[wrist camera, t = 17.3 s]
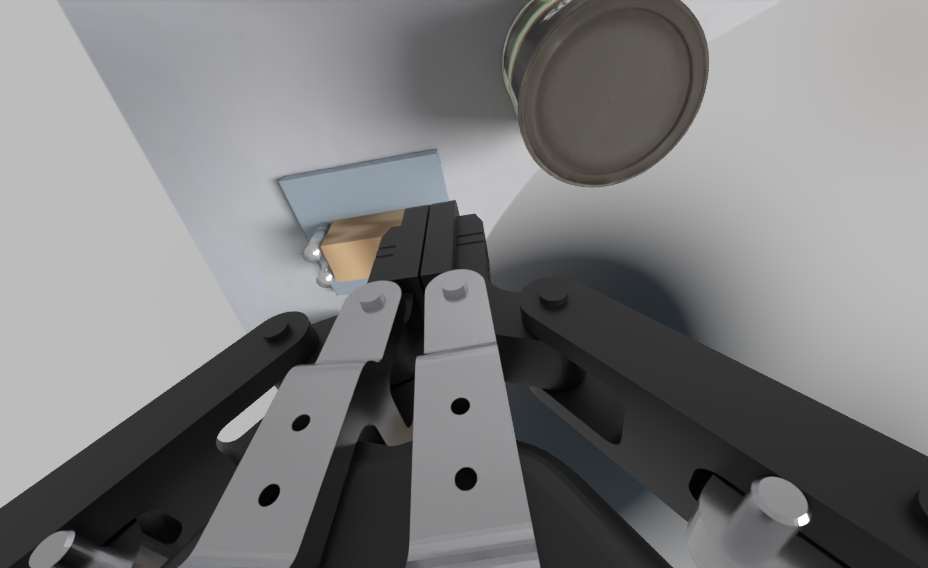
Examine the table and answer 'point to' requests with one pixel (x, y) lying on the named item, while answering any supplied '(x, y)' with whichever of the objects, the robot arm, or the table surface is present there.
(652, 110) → the coffee can
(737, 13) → the table surface
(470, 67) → the table surface
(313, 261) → the dowel pins
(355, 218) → the flange bar
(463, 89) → the table surface
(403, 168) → the base board
